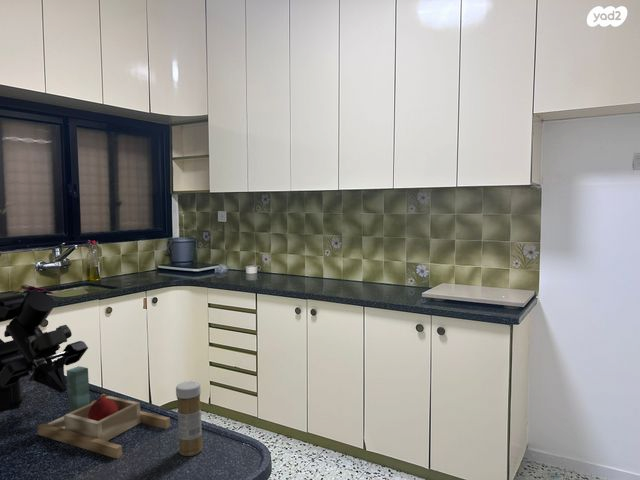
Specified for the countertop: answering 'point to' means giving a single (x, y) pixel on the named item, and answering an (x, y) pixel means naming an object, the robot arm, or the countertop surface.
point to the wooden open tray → (81, 406)
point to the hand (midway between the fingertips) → (64, 391)
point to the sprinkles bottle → (189, 418)
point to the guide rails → (95, 443)
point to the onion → (102, 408)
